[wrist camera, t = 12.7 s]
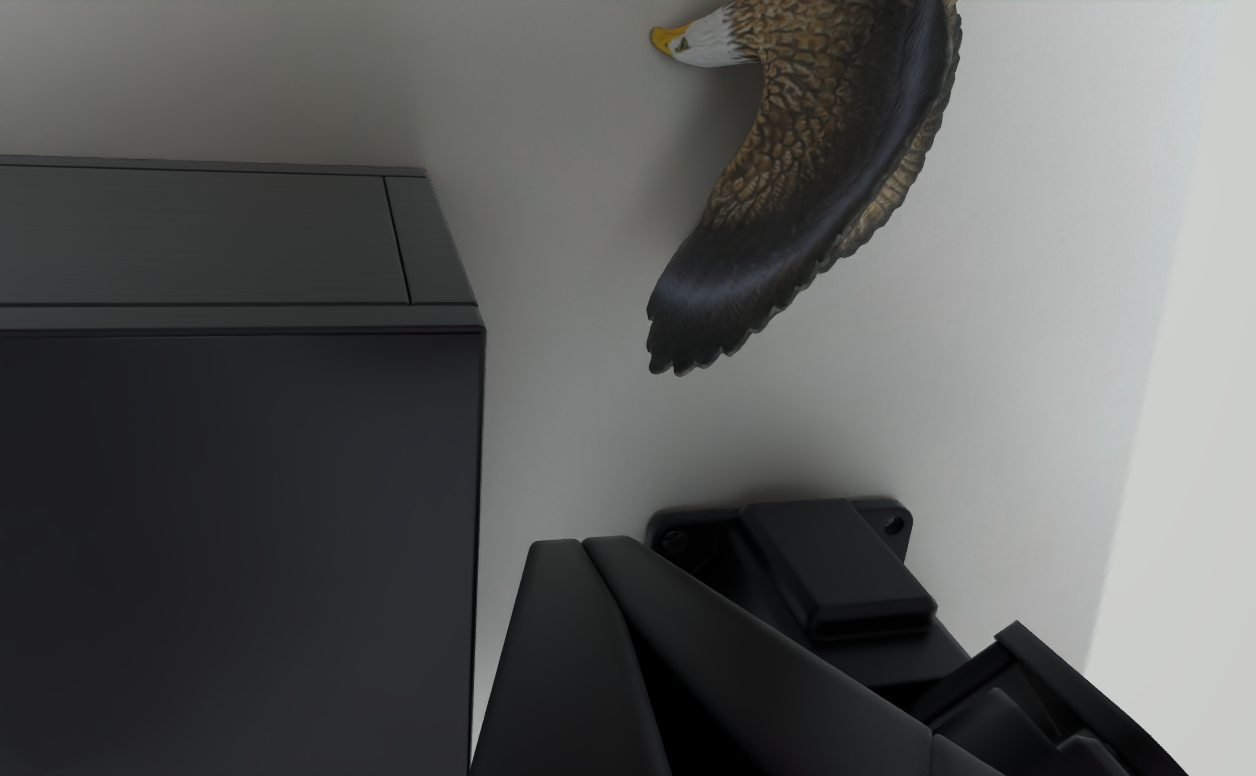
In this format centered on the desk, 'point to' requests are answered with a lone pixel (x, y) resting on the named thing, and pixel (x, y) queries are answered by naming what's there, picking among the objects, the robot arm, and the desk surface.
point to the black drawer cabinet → (235, 471)
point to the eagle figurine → (801, 156)
